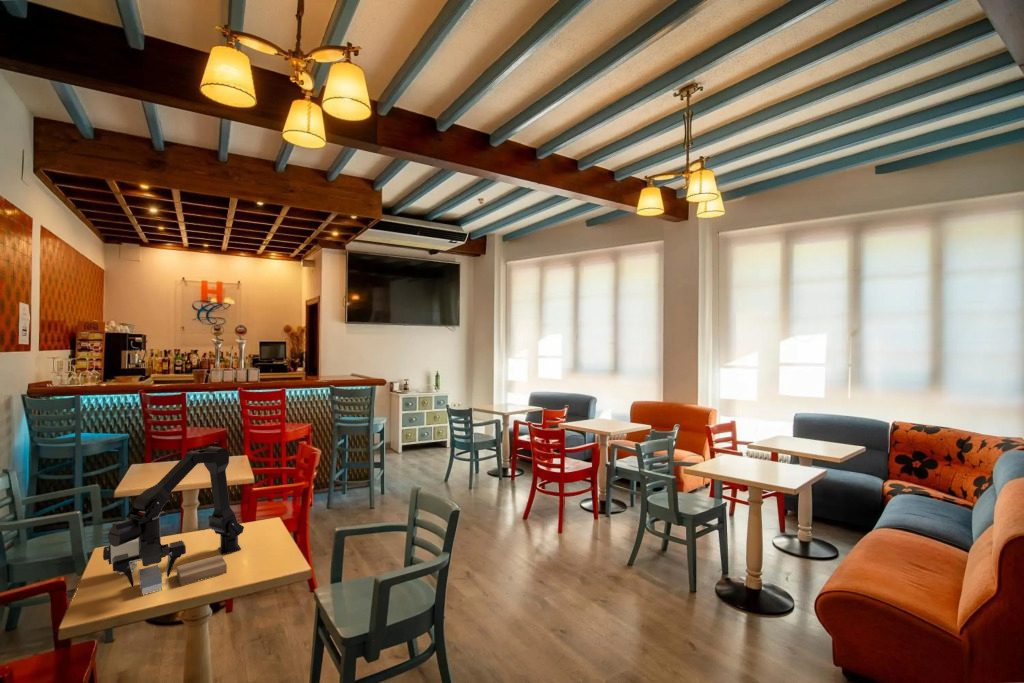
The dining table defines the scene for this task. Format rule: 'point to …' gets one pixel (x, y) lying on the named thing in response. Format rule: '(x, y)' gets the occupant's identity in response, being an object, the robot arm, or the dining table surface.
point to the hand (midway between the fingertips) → (150, 581)
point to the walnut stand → (201, 569)
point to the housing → (150, 579)
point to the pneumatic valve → (122, 552)
